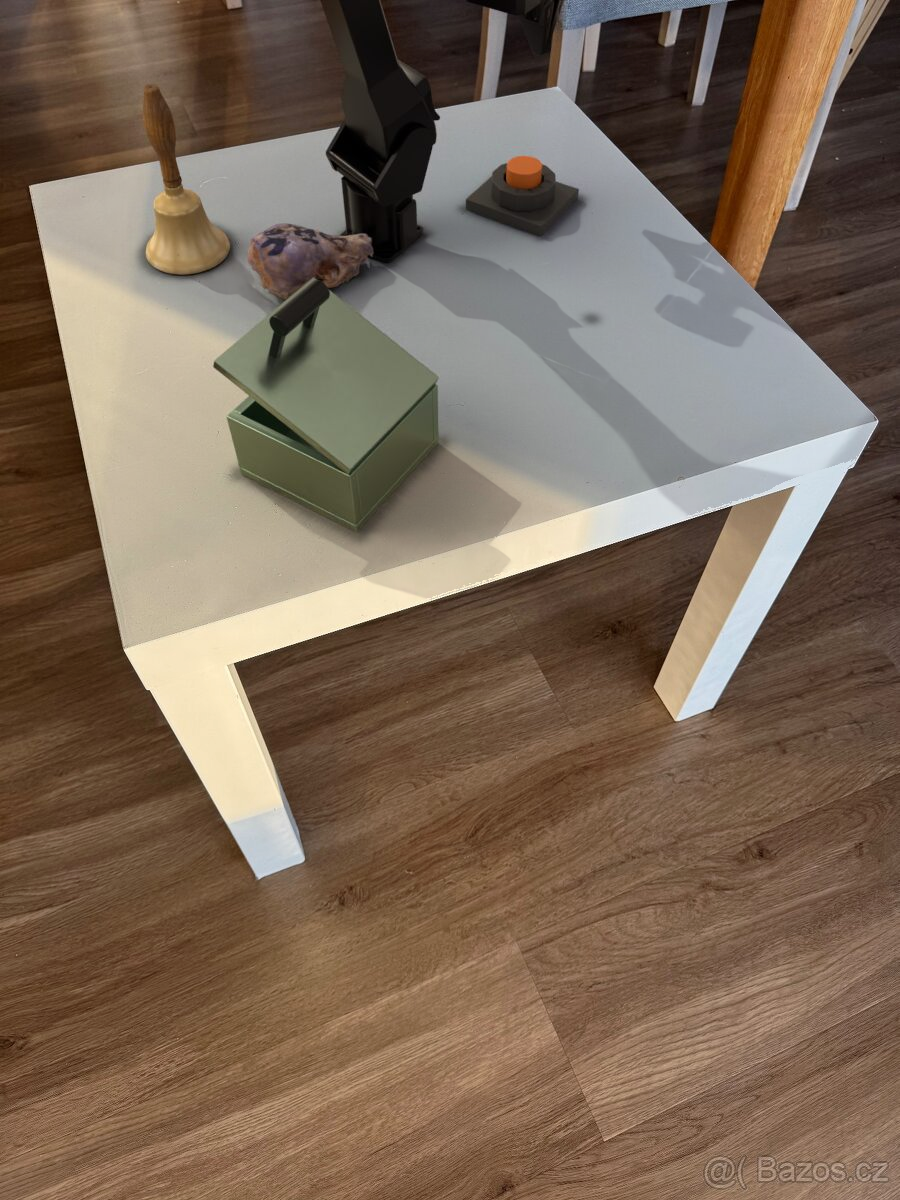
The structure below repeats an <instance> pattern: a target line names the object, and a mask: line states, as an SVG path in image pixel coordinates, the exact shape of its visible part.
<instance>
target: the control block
mask: <svg viewBox="0 0 900 1200" xmlns="http://www.w3.org/2000/svg"><path fill="white" fill-rule="evenodd" d="M507 163H508V162H506V163H502V164H500V165H498V167H497V168H495V169H494V170H493V171H492V173H491V176H490V177H489V178H487V179H486V180H485V182H483V183H482V184H481V185H480V186H479V187H478V188H477V189H475V190H474V191H473V192H472V193H470V195H468V197H467V198H466V199H465V210H467V211H469V212H472V213H475V214H478V215H481V216H483V217H486V218H489V219H492V220H495V221H497V222H500V223H503V224H505V225H508V226H511V227H514V228H516V229H519V230H522V231H524V232H528V233H531V234H533V235H537V236H539V237H542V235H544V234H545V233H546V232H547V231H548V230H549V229H550V228H551V227H552V226H553V225H554V224H555V223H556V222H557V221H558V220H559V218H561V217H562V215H564V214H565V213H566V212H567V211H568V210H569V209H570V208H571V207H572V206H573V205H574V204H575V203H576V202H577V201H578V199H579V190H580V189H579V188H577V187H574V186H571V185H568V184H566V183H562V182H559V181H556V173H555V172H554V171H553V170H552V169H551V167H549V166H548V165H546V164H543V163H542V177H541V184H540V185H539V186H538V187H535V188H531V189H518V188H515V187H512V186H509V185H508V184H507V182H506V172H507Z"/></svg>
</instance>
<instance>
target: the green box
mask: <svg viewBox="0 0 900 1200" xmlns="http://www.w3.org/2000/svg"><path fill="white" fill-rule="evenodd" d="M226 420H227V424H228V428H229V433H230V436H231V439H232V440H231V441H232V444H233V448H234V451H235V455H236V460H237V463H238V467H239V471H240V474H241V475H243V476H244V477H247V478H249V479H250V480H252V481H254V482H256V483H257V484H260V485H262V486H264V487H266V488H268V489H270V490H272V491H274V492H275V493H278V494H280V495H282V496H283V497H285V498H288V499H290V500H291V501H294V502H295V503H298V504H299V505H302V506H303V507H305V508H307V509H309V510H311V511H313V512H315V513H317V514H319V515H321V516H323V517H325V518H327V519H329V520H331V521H332V522H335V523H337V524H339V525H340V526H343V527H345V528H347V529H349V530H350V531H353V532H355V533H358V532H359V531H360V530H361V529H362V528H363V527H364V526H365V525H366V523H367V522H368V521H369V520H370V519H371V518H372V517H373V516H374V514H376V512H377V511H378V510H379V509H380V508H381V507H382V506H383V505H384V504H385V503H386V501H388V499H389V498H390V497H391V496H392V495H393V494H394V493H395V491H396V490H397V489H398V488H399V487H400V486H401V485H402V484H403V483H404V482H405V480H407V478H408V477H409V476H410V475H412V473H413V472H414V470H415V469H416V468H417V467H418V466H419V465H420V464H421V463H422V461H424V460H425V459H426V457H428V455H429V454H430V453H431V452H432V451H433V450H434V449H435V448H436V446H437V445H438V444H439V386H438V384H437V383H436V384H435V385H434V386H433V387H432V388H431V389H430V390H429V391H428V392H427V393H426V394H425V395H424V396H423V397H422V398H421V399H420V401H419V402H418V403H417V404H416V405H415V406H414V407H413V408H412V409H411V410H410V411H409V412H408V413H407V414H406V415H405V416H404V417H403V418H402V419H401V420H400V421H399V422H398V423H397V424H396V426H395V427H394V428H393V429H392V430H391V431H390V432H389V433H388V434H387V435H386V436H385V437H384V438H383V439H382V440H381V441H380V442H379V443H378V444H377V445H376V446H375V447H374V448H373V449H372V450H371V452H370V453H369V454H368V455H367V456H366V457H365V458H364V459H363V460H362V461H361V462H360V463H359V464H358V465H357V466H356V467H355V468H354V469H353V470H352V471H351V472H350V473H349V474H347V473H346V472H344V471H343V470H342V469H341V468H339V467H338V466H337V465H336V464H334V463H333V462H332V461H331V460H329V459H328V458H327V457H325V456H324V455H323V454H322V453H320V452H319V451H318V450H317V449H315V448H314V447H313V446H312V445H310V444H309V443H308V442H307V441H305V440H304V439H303V438H302V437H300V436H299V435H298V434H297V433H295V432H294V431H293V430H292V429H290V428H289V427H288V426H287V425H285V424H284V423H283V422H281V421H280V420H279V419H278V418H276V417H275V416H274V415H273V414H271V413H270V412H269V411H268V410H266V409H265V408H264V407H263V406H261V405H260V404H259V403H258V402H256V401H255V400H254V399H253V398H251V397H250V396H249V395H247V397H246V398H245V399H244V400H243V401H241V402H240V403H239V404H238V405H237V406H236V407H235V408H234V409H233V410H231V412H230V413H228V414H227V415H226Z"/></svg>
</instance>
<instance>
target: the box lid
mask: <svg viewBox="0 0 900 1200" xmlns="http://www.w3.org/2000/svg"><path fill="white" fill-rule="evenodd" d="M212 367H213V368H214V369H215V370H216V371H217V372H219V374H221V375H222V376H223V377H225V378H226V379H227V380H229V381H230V382H231V383H232V384H233V385H235V386H236V387H237V388H239V389H240V390H241V391H242V392H244V393H245V394H246V395H247V396H250V397H251V398H253V399H254V400H255V401H256V402H258V403H259V404H260V405H261V406H263V407H264V408H265V409H266V410H268V411H269V412H270V413H271V414H273V415H274V416H275V417H276V418H278V419H279V420H280V421H281V422H283V423H284V424H285V425H287V426H288V427H289V428H290V429H292V430H293V431H294V432H295V433H297V434H298V435H299V436H300V437H302V438H303V439H304V440H305V441H307V442H308V443H309V444H310V445H312V446H313V447H314V448H315V449H317V450H318V451H319V452H320V453H322V454H323V455H324V456H325V457H327V458H328V459H329V460H331V461H332V462H333V463H334V464H336V465H337V466H338V467H339V468H341V469H342V470H343V471H344V472H346V473H347V474H349V473H350V472H351V471H352V470H353V469H354V468H355V467H356V466H357V465H358V464H359V463H360V462H361V461H362V460H363V459H364V458H365V457H366V456H367V455H368V454H369V453H370V452H371V450H372V449H373V448H374V447H375V446H376V445H377V444H378V443H379V442H380V441H381V440H382V439H383V438H384V437H385V436H386V435H387V434H388V433H389V432H390V431H391V430H392V429H393V428H394V427H395V426H396V424H397V423H398V422H399V421H400V420H401V419H402V418H403V417H404V416H405V415H406V414H407V413H408V412H409V411H410V410H411V409H412V408H413V407H414V406H415V405H416V404H417V403H418V402H419V401H420V399H421V398H422V397H423V396H424V395H425V394H426V393H427V392H428V391H429V390H430V389H431V388H432V387H433V386H434V385H435V384H437V383H438V381H439V378H440V376H438V375H437V374H436V373H435V372H433V371H432V370H431V369H429V367H427V365H425V364H423V363H422V362H420V361H419V360H418V359H417V358H416V357H414V355H412V354H411V353H410V352H408V351H407V350H406V349H404V347H402V346H401V345H400V344H398V343H397V342H396V341H395V340H393V339H392V338H391V337H389V335H387V334H386V333H385V332H383V331H382V330H380V329H379V328H378V327H377V326H375V325H374V324H373V323H372V322H370V321H369V320H368V319H367V318H366V317H364V316H363V315H362V314H361V313H359V312H358V311H357V310H356V309H354V308H353V307H352V306H351V305H349V304H348V303H347V302H346V301H344V300H343V299H342V298H341V297H339V296H338V295H337V294H335V292H333V291H332V290H331V289H330V288H328V287H327V286H326V285H325V284H324V283H323V282H322V280H321V279H317V280H316V279H315V278H314V277H313V278H312V279H311V280H309V281H308V282H307V283H306V284H305V285H303V286H302V287H301V288H300V289H299V290H298V291H296V292H295V293H294V294H293V295H292V296H290V297H289V298H288V299H285V300H284V301H283V302H282V303H280V304H279V305H278V306H277V307H276V308H275V309H274V310H272V311H271V312H270V313H269V314H267V315H266V316H265V317H264V318H263V319H262V320H260V322H258V323H256V325H254V326H253V327H252V328H251V329H250V330H249V331H248V332H246V333H245V334H244V335H243V336H241V338H239V339H238V340H237V341H235V343H233V344H232V345H230V346H229V347H228V348H227V349H226V350H225V351H223V352H222V353H221V354H220V355H219V356H217V357H216V358H215V359H214V360H213V365H212Z"/></svg>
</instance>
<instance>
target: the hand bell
mask: <svg viewBox="0 0 900 1200" xmlns="http://www.w3.org/2000/svg"><path fill="white" fill-rule="evenodd" d="M142 90H143V99H142V120H143V126H144V129H145V132H146V135H147V138H148V141H149V143H150V145H151V147H152V148H153V150H154V153H156V157H157V159H158V163H159V167H160V171H161V176H162V177H161V178H162V183H163V188H164V191H162V192H161V193H159V194H158V195H157V196H156V197H155V199H154V201H153V211H154V221H155V224H154V225H155V228H154V233H153V235H152V236H151V237H150V239H149V240H148V242H147V244H146V248H145V258H146V260H147V261H148V263H149V265H151V266H152V267H153V268H155V269H156V270H158V271H161V272H164V273H167V274H172V275H180V276H181V275H192V274H199V273H202V272H205V271H208V270H211V269H213V268H215V267H217V266H218V265H219V264H221V263H222V262H223V261H224V260H225V259H226V258H227V257H228V255H229V252H230V250H231V242H230V240H229V238H228V237H227V235H226V234H225V232H224V231H222V229H220V228H218V227H217V226H215V225H214V224H213V223H212V222H211V220H210V219H209V217H208V215H207V213H206V211H205V208H204V205H203V203H202V199H201V197H200V196H199V194H197V193H196V192H195V191H193V190H191V189H187V188H184V186H183V179H182V176H181V173H180V170H179V165H178V162H177V158H176V146H177V136H176V135H177V132H176V125H175V121H174V117H173V113H172V111H171V108H170V106H169V104H168V103H167V101H166V99H165V97H164V96H163V94H162V92H161V90H160V88H159V86H158V85H157V84H156V83H147V84H145V85H144V86H143V89H142Z"/></svg>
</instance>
